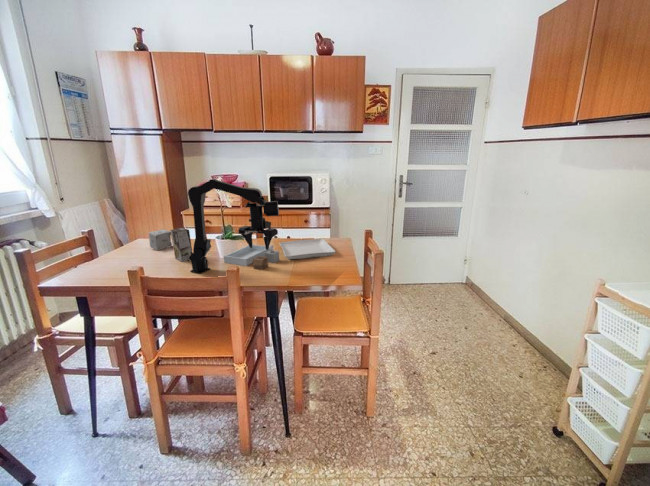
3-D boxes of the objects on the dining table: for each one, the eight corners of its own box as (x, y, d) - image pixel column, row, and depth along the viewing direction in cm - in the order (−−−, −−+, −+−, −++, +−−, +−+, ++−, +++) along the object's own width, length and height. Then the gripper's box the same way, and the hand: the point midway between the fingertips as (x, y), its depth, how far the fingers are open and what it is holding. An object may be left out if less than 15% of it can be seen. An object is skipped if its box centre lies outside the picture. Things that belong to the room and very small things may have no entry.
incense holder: (158, 250, 174) (155, 233, 172) (150, 249, 178) (146, 232, 175) (173, 246, 183) (170, 230, 180) (165, 244, 187) (162, 228, 184)
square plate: (285, 263, 151) (285, 255, 150) (279, 247, 177) (278, 241, 176) (336, 257, 158) (336, 250, 157) (323, 243, 184) (322, 237, 182)
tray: (246, 266, 147) (245, 259, 146) (224, 262, 153) (223, 256, 152) (271, 253, 166) (271, 246, 165) (251, 250, 172) (250, 244, 171)
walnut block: (262, 270, 142) (261, 260, 140) (253, 268, 144) (252, 258, 142) (268, 266, 146) (267, 256, 144) (259, 265, 148) (259, 255, 146)
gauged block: (274, 263, 150) (272, 247, 148) (265, 262, 152) (264, 246, 150) (279, 260, 155) (278, 244, 152) (271, 259, 157) (270, 243, 154)
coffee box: (194, 259, 159) (189, 229, 155) (181, 262, 155) (176, 232, 150) (186, 255, 165) (182, 227, 161) (174, 258, 161) (169, 229, 156)
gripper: (283, 214, 141) (284, 246, 145) (251, 212, 148) (253, 242, 153) (269, 219, 131) (272, 252, 136) (236, 216, 139) (239, 248, 143)
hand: (259, 248), depth 142 cm, fingers open, 9 cm apart
